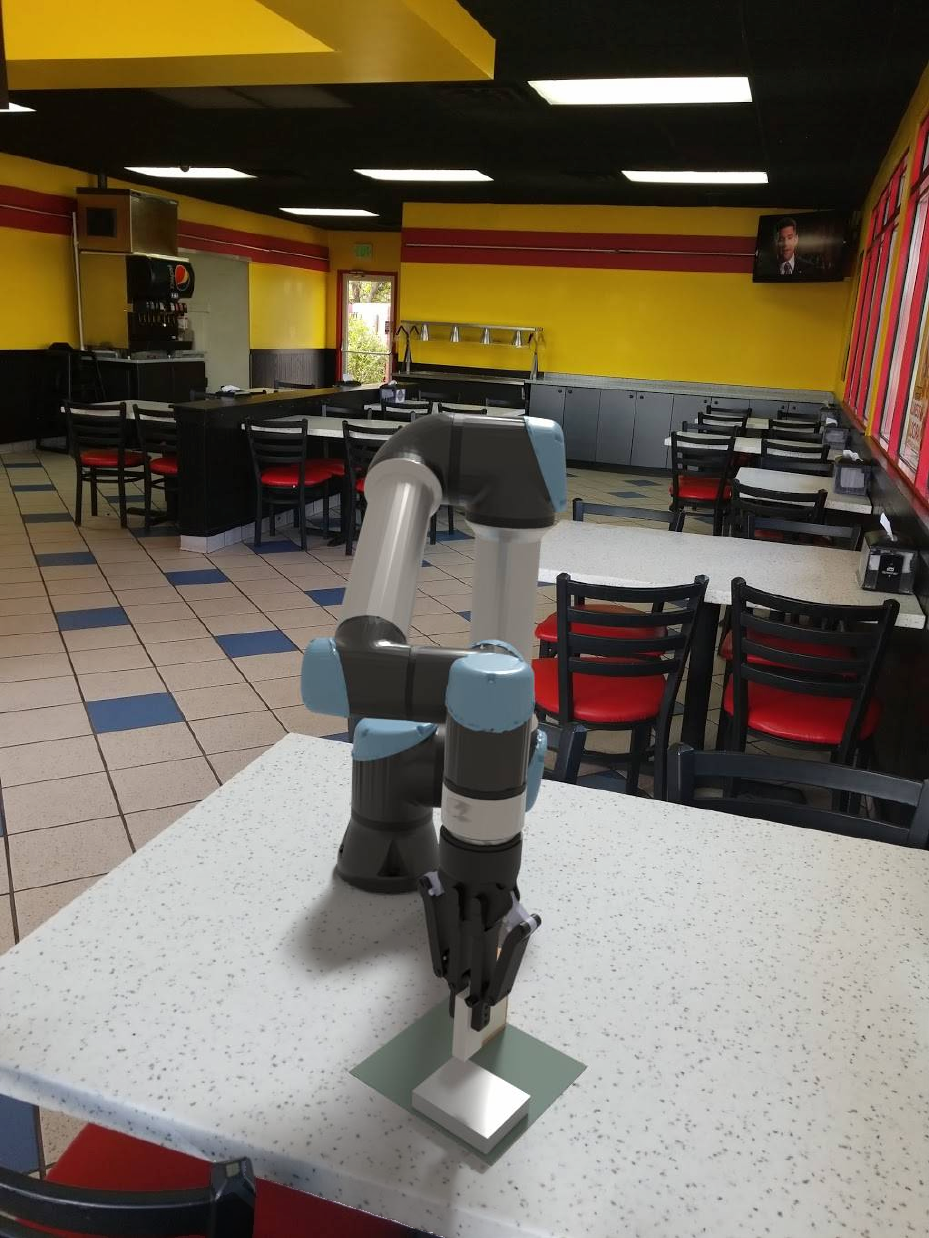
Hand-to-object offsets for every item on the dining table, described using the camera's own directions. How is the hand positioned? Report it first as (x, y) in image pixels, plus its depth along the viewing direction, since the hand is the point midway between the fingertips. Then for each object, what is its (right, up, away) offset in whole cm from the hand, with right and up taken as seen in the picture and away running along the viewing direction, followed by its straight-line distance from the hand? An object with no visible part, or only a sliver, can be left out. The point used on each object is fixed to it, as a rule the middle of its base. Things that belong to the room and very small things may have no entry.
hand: (466, 1050), depth 92 cm
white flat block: (-3, -4, +4) cm, 7 cm away
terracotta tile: (+2, -4, +11) cm, 12 cm away
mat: (0, -5, +7) cm, 9 cm away
